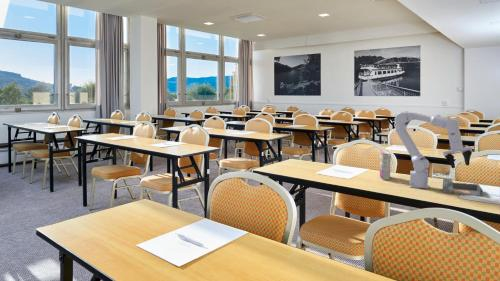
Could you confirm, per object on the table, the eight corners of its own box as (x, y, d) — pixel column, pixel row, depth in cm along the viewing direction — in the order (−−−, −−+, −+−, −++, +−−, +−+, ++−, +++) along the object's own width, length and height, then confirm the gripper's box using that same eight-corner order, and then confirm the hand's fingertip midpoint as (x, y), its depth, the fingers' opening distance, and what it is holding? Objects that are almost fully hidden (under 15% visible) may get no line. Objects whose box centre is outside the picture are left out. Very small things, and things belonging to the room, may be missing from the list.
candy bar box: (379, 175, 239) (379, 150, 237) (387, 176, 238) (388, 150, 236) (381, 180, 229) (382, 153, 226) (390, 180, 228) (391, 153, 225)
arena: (453, 194, 197) (453, 187, 196) (451, 188, 208) (451, 182, 207) (482, 196, 192) (482, 189, 191) (478, 190, 203) (478, 184, 202)
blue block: (443, 192, 199) (444, 181, 198) (442, 189, 206) (443, 178, 205) (452, 193, 198) (452, 182, 197) (450, 190, 204) (451, 179, 203)
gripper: (446, 143, 194) (451, 169, 194) (473, 138, 194) (478, 164, 194) (439, 143, 201) (444, 168, 201) (465, 138, 201) (470, 163, 201)
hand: (460, 166), depth 198 cm, fingers open, 7 cm apart
